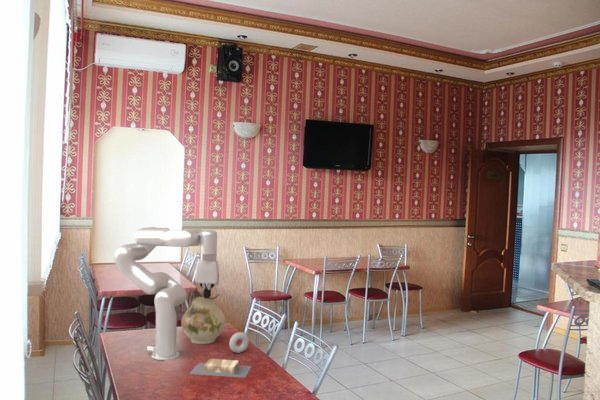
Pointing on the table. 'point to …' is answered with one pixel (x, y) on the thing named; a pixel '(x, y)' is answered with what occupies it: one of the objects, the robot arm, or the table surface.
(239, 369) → the mat
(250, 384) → the table surface
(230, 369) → the tan rectangular package
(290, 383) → the table surface
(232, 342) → the donut
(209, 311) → the pitcher
